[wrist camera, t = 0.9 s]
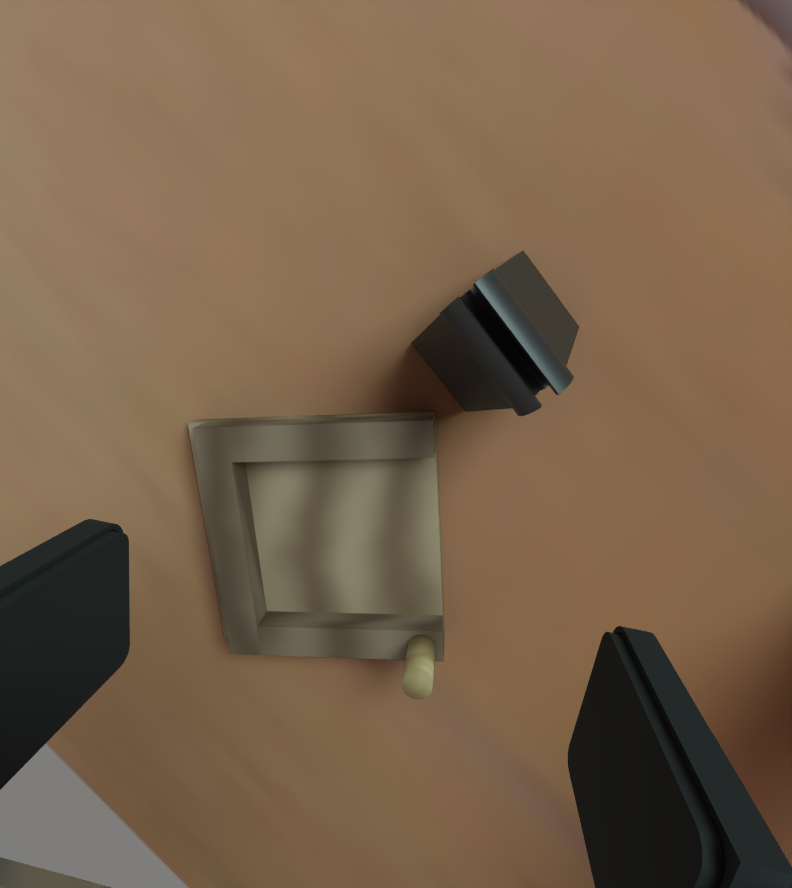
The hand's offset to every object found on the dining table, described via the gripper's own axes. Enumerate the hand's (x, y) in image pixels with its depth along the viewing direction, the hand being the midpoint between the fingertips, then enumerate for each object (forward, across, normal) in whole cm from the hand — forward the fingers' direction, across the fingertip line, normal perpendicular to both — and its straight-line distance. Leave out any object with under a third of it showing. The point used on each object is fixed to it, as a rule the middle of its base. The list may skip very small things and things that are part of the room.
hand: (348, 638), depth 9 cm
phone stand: (+26, -3, -5) cm, 27 cm away
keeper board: (+26, +7, +11) cm, 29 cm away
